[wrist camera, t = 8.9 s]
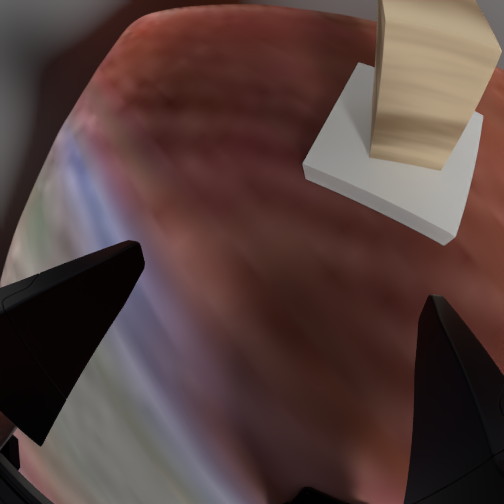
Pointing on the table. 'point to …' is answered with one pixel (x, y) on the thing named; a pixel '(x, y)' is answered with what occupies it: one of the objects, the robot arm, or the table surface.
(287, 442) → the table surface
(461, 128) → the oak block
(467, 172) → the tile base
